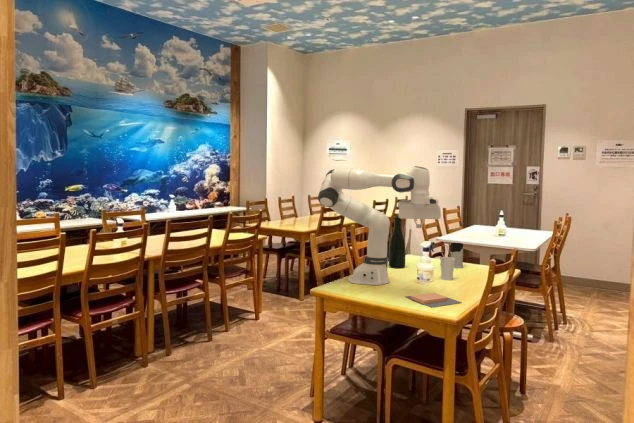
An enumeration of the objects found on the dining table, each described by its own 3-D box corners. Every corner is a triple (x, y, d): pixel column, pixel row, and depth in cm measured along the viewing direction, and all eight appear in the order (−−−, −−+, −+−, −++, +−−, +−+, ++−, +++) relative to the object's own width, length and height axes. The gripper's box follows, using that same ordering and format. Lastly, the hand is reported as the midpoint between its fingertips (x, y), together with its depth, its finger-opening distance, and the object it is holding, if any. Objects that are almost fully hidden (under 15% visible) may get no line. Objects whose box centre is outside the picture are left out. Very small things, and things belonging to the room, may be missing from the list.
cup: (456, 280, 283) (456, 259, 281) (442, 280, 282) (443, 259, 281) (451, 277, 290) (452, 256, 289) (437, 277, 290) (438, 257, 289)
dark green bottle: (408, 266, 319) (409, 215, 316) (399, 269, 312) (400, 216, 308) (394, 264, 326) (395, 214, 323) (385, 266, 318) (386, 215, 315)
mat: (431, 307, 229) (431, 307, 229) (405, 297, 247) (405, 296, 247) (461, 303, 237) (461, 302, 237) (434, 293, 255) (434, 292, 255)
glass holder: (462, 268, 314) (463, 245, 313) (439, 267, 319) (440, 243, 318) (463, 266, 322) (464, 243, 321) (441, 264, 327) (442, 241, 326)
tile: (423, 300, 233) (447, 297, 240) (410, 295, 242) (433, 292, 248) (423, 304, 233) (447, 300, 240) (410, 299, 242) (433, 295, 249)
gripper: (398, 199, 242) (397, 228, 244) (441, 200, 240) (440, 229, 241) (397, 199, 249) (397, 226, 250) (440, 199, 246) (439, 227, 248)
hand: (419, 228), depth 246 cm, fingers closed
